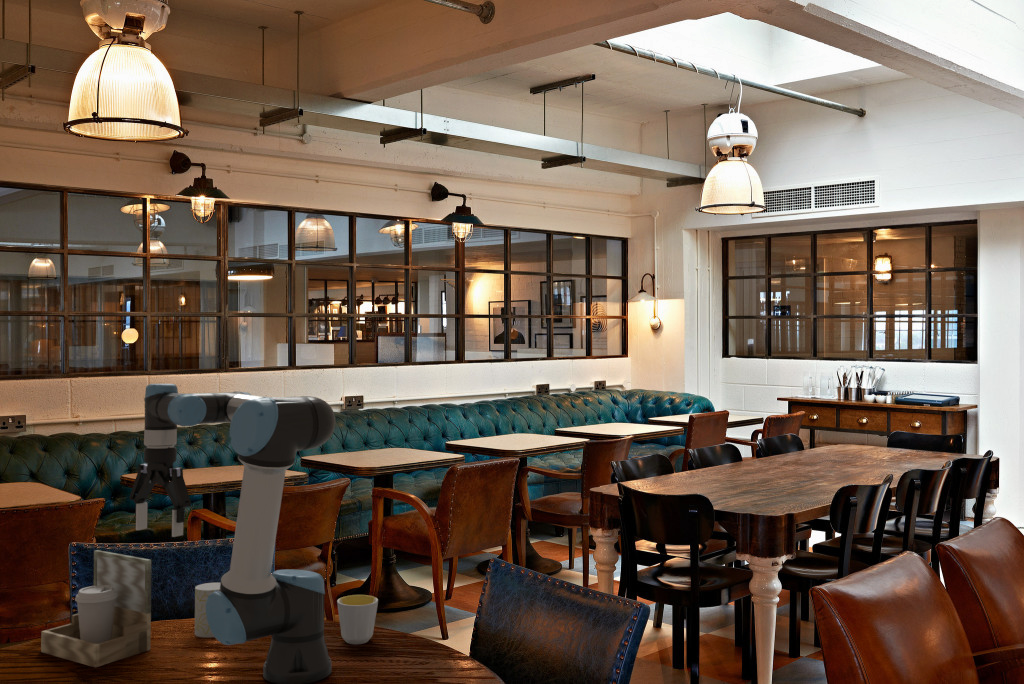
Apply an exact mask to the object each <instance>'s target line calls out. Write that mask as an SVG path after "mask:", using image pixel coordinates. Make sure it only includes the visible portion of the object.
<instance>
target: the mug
mask: <svg viewBox="0 0 1024 684" xmlns="http://www.w3.org/2000/svg"><path fill="white" fill-rule="evenodd" d="M336 604H337V610H338V611H337V612H338V619H339V627H340V634H341V637H342V639H343V640H344V641H345V642H346V643H347V644H348V645H349V644H350V645H362V644H363V645H364V644H366V643H368V642H369V640H370V639H371V638H372V637H374V635H373V634H374V628H375V623H376V616H377V611H378V604H379V599H378V598H377V597H375V596H373V595H366V594H352V595H351V594H350V595H347V596H343V597H340V598H338V599H337V600H336Z"/></svg>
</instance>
